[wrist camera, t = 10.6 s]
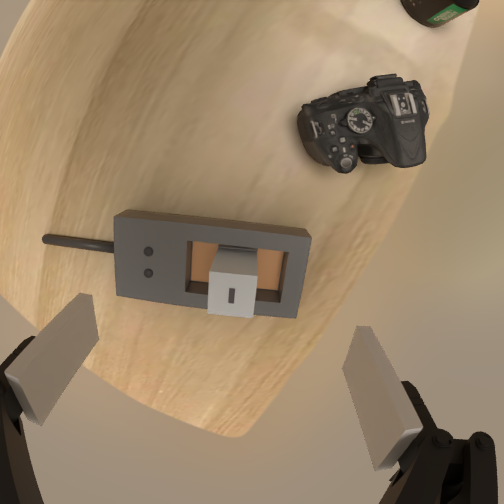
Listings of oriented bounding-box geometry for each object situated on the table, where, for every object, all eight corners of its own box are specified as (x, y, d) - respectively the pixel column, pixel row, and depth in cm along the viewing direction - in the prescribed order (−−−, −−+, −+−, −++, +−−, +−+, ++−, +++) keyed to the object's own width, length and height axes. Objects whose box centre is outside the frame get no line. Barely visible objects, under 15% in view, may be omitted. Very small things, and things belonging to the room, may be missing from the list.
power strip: (48, 269, 34) (33, 279, 31) (43, 203, 32) (26, 209, 28) (292, 303, 35) (296, 319, 32) (305, 229, 33) (311, 238, 29)
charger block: (219, 243, 33) (208, 271, 25) (257, 246, 33) (258, 276, 25) (216, 278, 34) (206, 314, 26) (253, 282, 34) (253, 319, 26)
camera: (338, 197, 32) (371, 215, 22) (281, 123, 29) (292, 109, 20) (422, 131, 29) (474, 129, 19) (372, 59, 27) (412, 31, 17)
